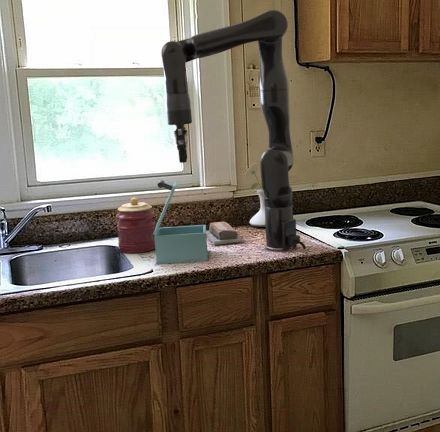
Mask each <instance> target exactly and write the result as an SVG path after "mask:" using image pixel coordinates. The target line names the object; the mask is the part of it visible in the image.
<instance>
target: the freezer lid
mask: <svg viewBox="0 0 440 432" xmlns="http://www.w3.org/2000/svg"><path fill="white" fill-rule="evenodd" d="M178 182H179V181H178V180H175V181H174V183H173V185H170V184H169V183H166V182H165V181H164V180H163V179H160V180H159V181H158V183H157V187H158V189H163V188H164V189H167V190H169V191H170V192H169V195H168V197H167V200H166V202H165V204H164V206H163V209H162V212H161V214H160V216H159V218H158V221H157V222H156V224H155V226H156V228H155V231H154V233H153V235H156V233H157V231H158V229H159V228H160V226H161V224H162V221H163V219H164V217H165V214H166V212H167V210H168V207H169V205H170V202H171V200H172V198H173V196H174V193H175V191H176V189H177V186H178Z"/></svg>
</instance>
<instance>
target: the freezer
mask: <svg viewBox="0 0 440 432" xmlns="http://www.w3.org/2000/svg"><path fill="white" fill-rule="evenodd" d="M206 231H207V225H206V224H198V225H197V224H196V225H182V226H181V225H180V226H167V227H159V229H158V231H157V233H156V235H155V236H154V237H155V249H154V250H155V260H156V261H155V262H156V265H163V264H176V263H177V264H179V263H192V262H195V263H196V262H206V261H208V240H207V238H208V237H207V236H206Z"/></svg>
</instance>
